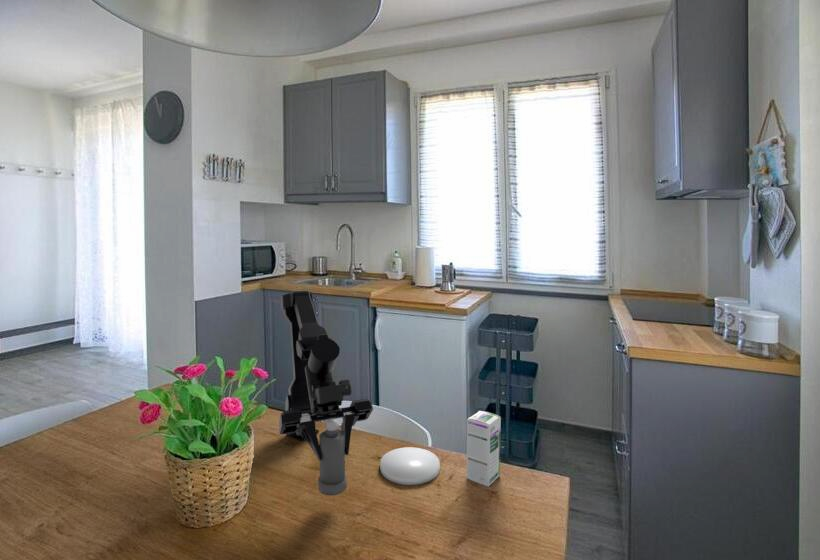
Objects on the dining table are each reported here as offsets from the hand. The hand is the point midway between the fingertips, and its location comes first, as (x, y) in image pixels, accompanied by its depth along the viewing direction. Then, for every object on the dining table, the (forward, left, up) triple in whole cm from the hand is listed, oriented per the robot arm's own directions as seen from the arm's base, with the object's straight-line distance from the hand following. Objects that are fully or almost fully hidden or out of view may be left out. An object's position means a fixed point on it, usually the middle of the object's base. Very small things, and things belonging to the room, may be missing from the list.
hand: (334, 457), depth 86 cm
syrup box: (+20, +28, -11) cm, 36 cm away
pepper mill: (-1, +1, -7) cm, 7 cm away
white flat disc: (+4, +22, -11) cm, 25 cm away
